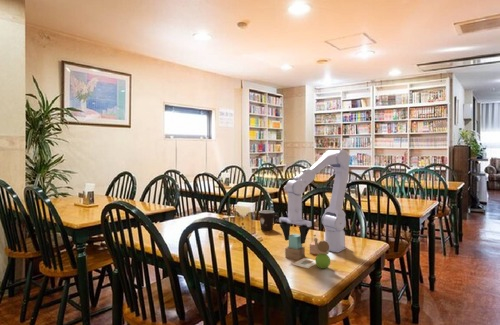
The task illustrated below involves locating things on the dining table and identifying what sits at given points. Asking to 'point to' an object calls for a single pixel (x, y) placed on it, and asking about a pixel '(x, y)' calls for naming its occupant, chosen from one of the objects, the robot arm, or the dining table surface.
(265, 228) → the coffee mug
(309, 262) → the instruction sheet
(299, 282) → the dining table surface
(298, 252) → the walnut base brick
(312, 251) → the terracotta brick
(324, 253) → the snail figurine
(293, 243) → the teal brick
